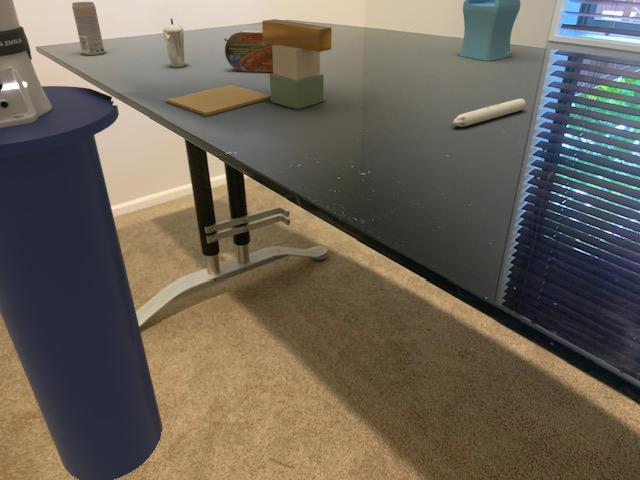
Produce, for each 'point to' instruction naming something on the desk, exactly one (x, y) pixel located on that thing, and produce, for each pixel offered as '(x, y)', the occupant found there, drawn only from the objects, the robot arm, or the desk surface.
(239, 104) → the mat
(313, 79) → the tower
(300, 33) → the bar
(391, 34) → the desk surface
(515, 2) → the vase
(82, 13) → the energy drink
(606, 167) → the desk surface
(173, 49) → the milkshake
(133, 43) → the desk surface
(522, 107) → the marker
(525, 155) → the desk surface
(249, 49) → the tin
